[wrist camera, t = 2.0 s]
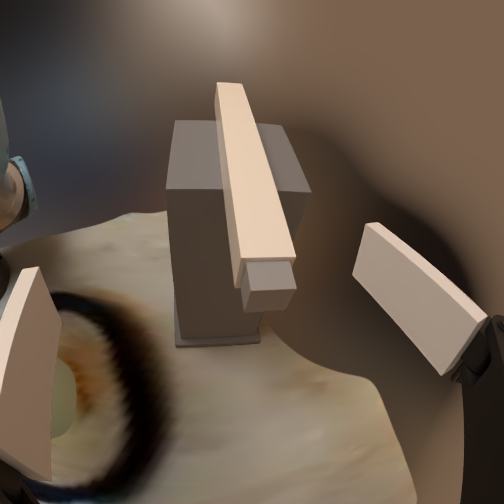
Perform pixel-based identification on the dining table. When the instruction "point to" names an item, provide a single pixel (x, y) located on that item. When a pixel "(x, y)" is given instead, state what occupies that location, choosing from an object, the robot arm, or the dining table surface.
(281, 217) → the beige square bar
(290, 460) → the dining table surface
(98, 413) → the dining table surface
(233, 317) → the stand
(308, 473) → the dining table surface
